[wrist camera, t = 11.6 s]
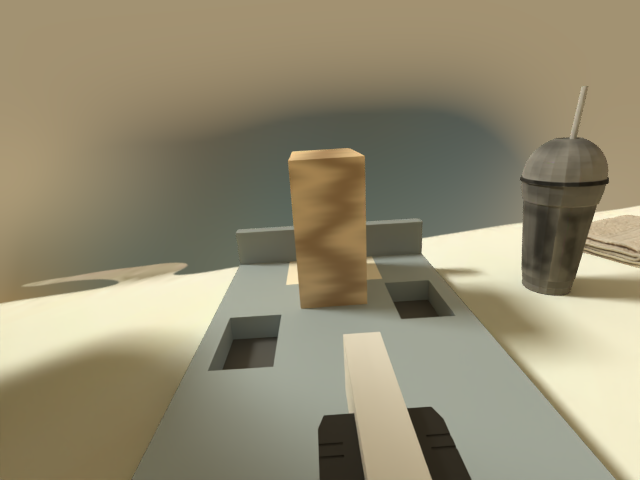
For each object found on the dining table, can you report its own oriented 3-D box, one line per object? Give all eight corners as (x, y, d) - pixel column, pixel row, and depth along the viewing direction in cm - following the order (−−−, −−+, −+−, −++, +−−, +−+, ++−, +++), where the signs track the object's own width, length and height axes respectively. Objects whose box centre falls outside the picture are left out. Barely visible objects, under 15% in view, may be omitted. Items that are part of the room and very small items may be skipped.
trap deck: (105, 602, 14) (59, 486, 12) (244, 278, 45) (238, 229, 43) (640, 566, 15) (681, 445, 12) (417, 267, 45) (418, 218, 43)
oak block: (300, 308, 32) (288, 160, 27) (301, 266, 41) (292, 151, 37) (367, 303, 32) (364, 156, 28) (352, 262, 41) (349, 148, 37)
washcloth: (548, 247, 50) (551, 226, 50) (622, 226, 57) (626, 208, 56) (650, 276, 40) (657, 251, 39) (725, 247, 47) (733, 225, 46)
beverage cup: (493, 280, 40) (512, 91, 34) (537, 267, 43) (563, 89, 37) (556, 308, 34) (594, 81, 28) (603, 291, 36) (648, 80, 30)
